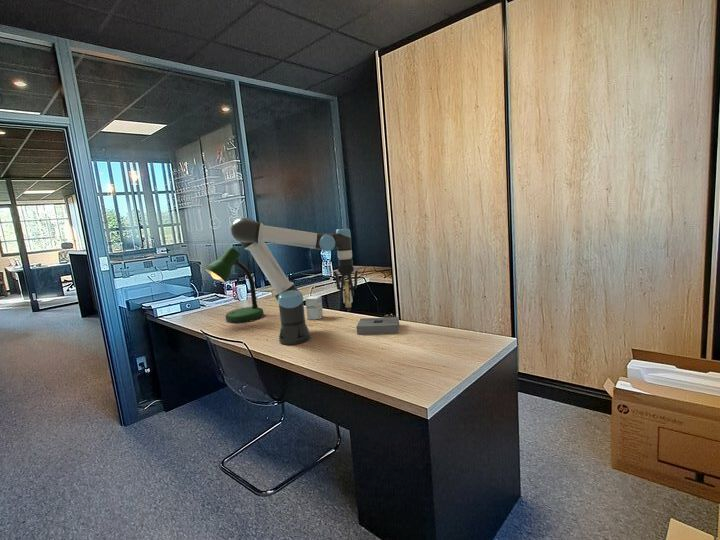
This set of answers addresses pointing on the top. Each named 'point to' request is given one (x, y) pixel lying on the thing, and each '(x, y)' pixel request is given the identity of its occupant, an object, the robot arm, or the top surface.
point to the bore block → (378, 325)
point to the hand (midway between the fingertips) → (348, 302)
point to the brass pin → (347, 294)
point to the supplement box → (314, 307)
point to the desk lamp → (222, 272)
